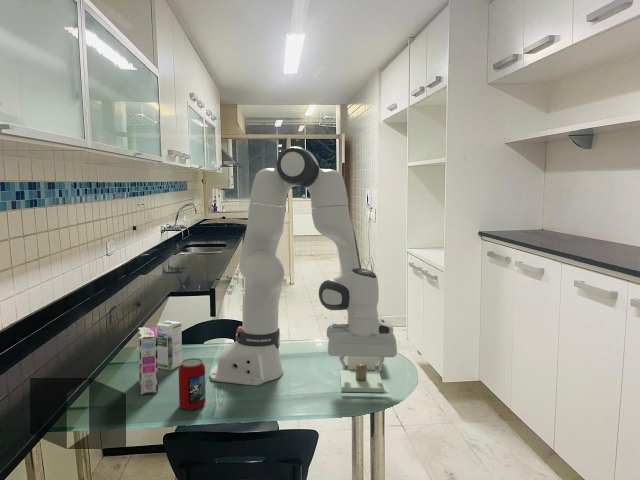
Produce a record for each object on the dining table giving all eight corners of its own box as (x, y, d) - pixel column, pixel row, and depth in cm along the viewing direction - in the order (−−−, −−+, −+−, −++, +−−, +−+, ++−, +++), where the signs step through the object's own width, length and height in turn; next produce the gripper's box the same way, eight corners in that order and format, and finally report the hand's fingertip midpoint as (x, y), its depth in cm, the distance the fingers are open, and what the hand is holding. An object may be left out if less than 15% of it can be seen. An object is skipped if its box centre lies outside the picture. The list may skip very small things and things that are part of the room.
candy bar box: (159, 392, 129) (157, 336, 127) (140, 395, 127) (138, 338, 125) (156, 377, 139) (155, 325, 137) (138, 380, 137) (137, 327, 135)
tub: (347, 371, 145) (348, 347, 145) (346, 358, 156) (346, 336, 155) (382, 372, 145) (382, 348, 144) (378, 359, 156) (378, 336, 155)
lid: (341, 395, 129) (341, 372, 128) (339, 378, 141) (340, 357, 140) (383, 396, 129) (384, 373, 128) (378, 378, 141) (379, 357, 140)
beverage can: (198, 412, 118) (197, 368, 116) (174, 409, 119) (173, 365, 118) (209, 400, 124) (209, 358, 123) (187, 398, 126) (186, 356, 124)
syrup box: (156, 368, 146) (155, 324, 144) (168, 361, 151) (167, 319, 150) (170, 371, 144) (169, 326, 142) (182, 364, 149) (182, 321, 148)
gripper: (326, 327, 130) (326, 373, 131) (398, 328, 130) (397, 375, 131) (326, 320, 136) (326, 365, 138) (395, 322, 136) (393, 366, 137)
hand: (361, 370), depth 134 cm, fingers open, 8 cm apart
